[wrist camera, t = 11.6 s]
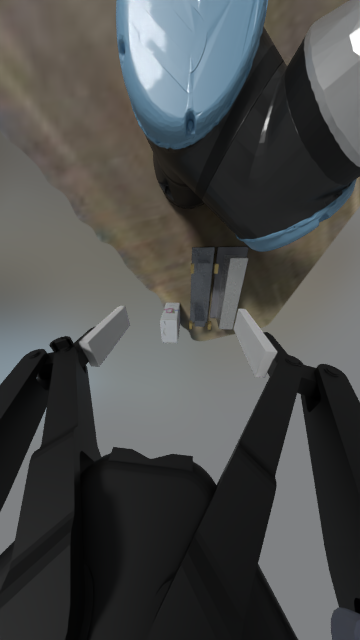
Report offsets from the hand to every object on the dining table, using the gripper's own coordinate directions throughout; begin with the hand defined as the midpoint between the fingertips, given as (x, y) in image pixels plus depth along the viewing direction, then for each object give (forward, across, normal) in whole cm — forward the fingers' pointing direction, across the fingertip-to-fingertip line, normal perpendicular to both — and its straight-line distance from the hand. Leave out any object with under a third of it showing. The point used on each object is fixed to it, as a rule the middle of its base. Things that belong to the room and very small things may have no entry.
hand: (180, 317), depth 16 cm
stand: (+29, +4, -6) cm, 30 cm away
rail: (+28, +12, -6) cm, 31 cm away
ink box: (+29, -5, -15) cm, 33 cm away
